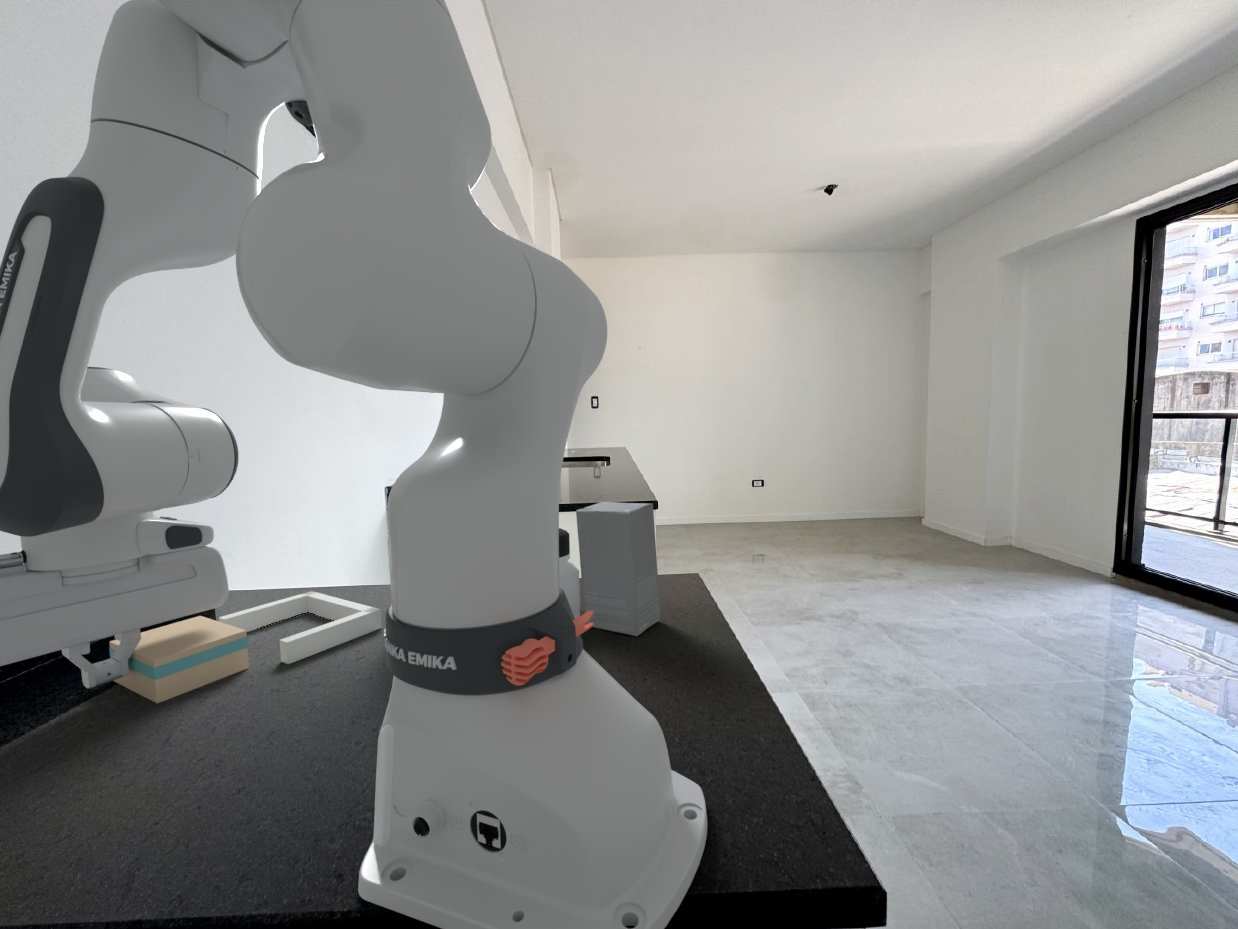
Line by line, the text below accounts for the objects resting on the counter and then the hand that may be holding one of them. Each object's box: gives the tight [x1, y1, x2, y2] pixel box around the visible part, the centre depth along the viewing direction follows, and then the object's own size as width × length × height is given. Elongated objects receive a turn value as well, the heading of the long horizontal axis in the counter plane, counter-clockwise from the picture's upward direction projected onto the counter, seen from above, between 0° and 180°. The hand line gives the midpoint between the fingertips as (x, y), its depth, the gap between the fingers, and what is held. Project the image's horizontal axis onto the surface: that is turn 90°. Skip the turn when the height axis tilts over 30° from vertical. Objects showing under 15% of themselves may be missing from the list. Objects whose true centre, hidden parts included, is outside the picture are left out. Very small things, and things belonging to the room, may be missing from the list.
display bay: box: [218, 590, 382, 665], centre depth 66 cm, size 16×12×2 cm
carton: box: [108, 615, 250, 704], centre depth 55 cm, size 10×8×4 cm
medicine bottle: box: [559, 527, 581, 619], centre depth 69 cm, size 7×7×12 cm
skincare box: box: [575, 501, 662, 637], centre depth 66 cm, size 8×7×16 cm
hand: (106, 680), depth 50 cm, fingers closed
